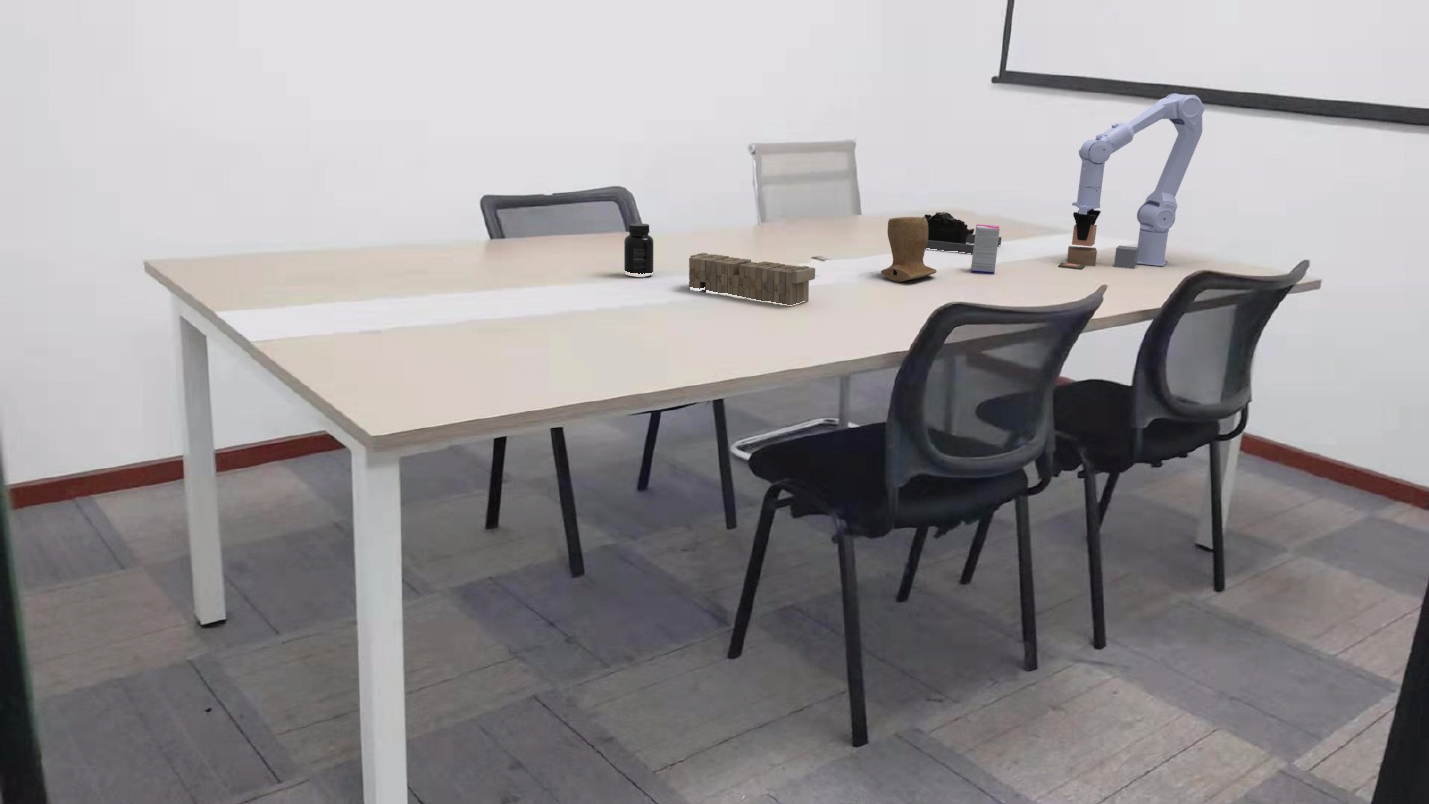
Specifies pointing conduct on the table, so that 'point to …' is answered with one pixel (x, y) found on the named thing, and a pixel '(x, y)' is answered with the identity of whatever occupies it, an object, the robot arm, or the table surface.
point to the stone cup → (907, 248)
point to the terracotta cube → (1090, 238)
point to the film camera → (947, 228)
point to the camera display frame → (955, 245)
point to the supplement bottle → (638, 249)
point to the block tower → (750, 278)
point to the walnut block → (1082, 255)
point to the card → (1071, 266)
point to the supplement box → (985, 249)
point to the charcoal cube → (1126, 257)
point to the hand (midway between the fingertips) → (1083, 238)
